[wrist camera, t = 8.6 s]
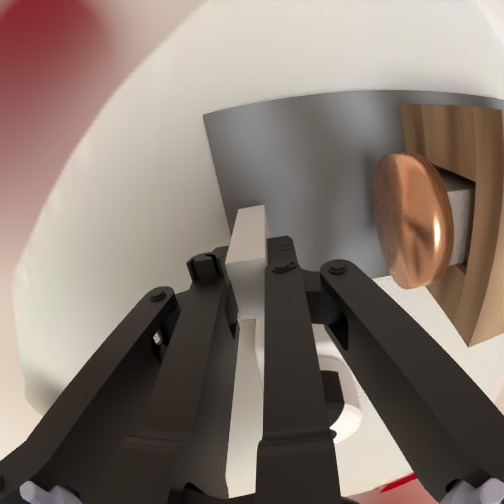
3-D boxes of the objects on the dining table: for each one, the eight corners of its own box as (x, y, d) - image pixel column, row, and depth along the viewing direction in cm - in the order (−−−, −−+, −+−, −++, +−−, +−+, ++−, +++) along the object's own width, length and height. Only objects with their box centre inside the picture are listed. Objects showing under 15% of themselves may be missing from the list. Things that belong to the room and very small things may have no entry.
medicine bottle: (266, 349, 27) (264, 460, 16) (256, 289, 24) (250, 414, 13) (338, 341, 26) (363, 449, 16) (341, 280, 23) (384, 397, 13)
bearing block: (248, 288, 24) (237, 406, 14) (207, 115, 18) (138, 115, 8) (494, 242, 21) (565, 307, 11) (497, 99, 15) (595, 118, 5)
